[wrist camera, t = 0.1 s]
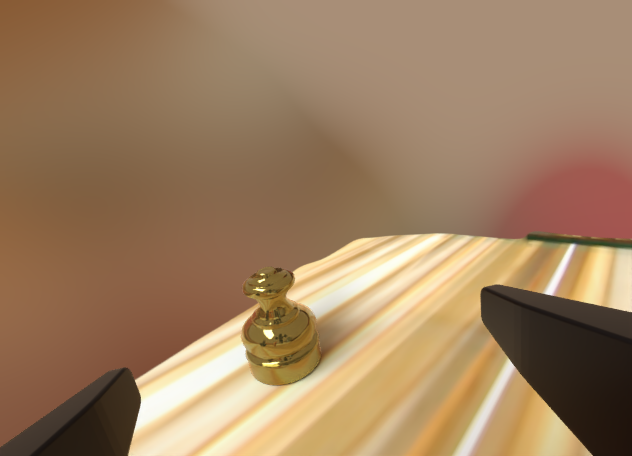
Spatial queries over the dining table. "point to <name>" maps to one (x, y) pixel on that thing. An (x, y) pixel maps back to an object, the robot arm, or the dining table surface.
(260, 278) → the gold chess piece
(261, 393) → the dining table surface
